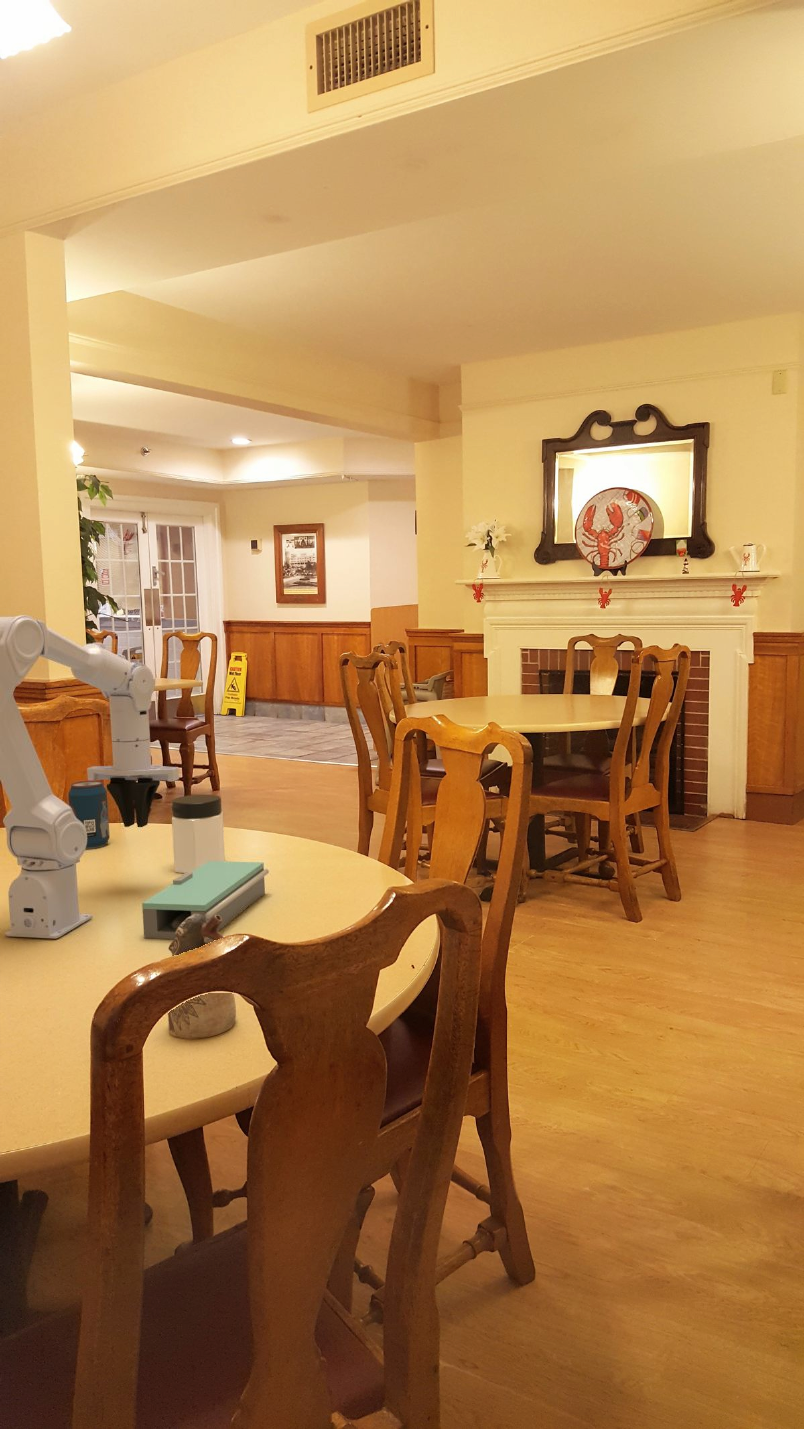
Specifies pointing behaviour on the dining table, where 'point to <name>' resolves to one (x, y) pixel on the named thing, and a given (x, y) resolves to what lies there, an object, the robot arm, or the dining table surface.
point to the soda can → (91, 811)
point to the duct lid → (203, 886)
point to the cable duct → (227, 908)
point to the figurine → (205, 1010)
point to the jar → (197, 831)
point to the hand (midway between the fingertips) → (135, 825)
